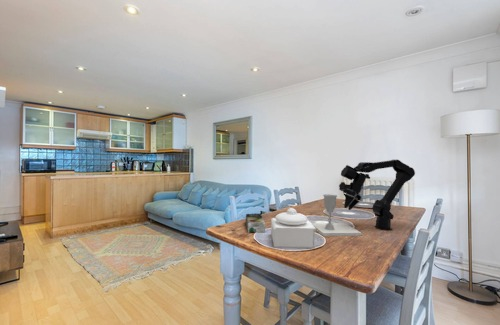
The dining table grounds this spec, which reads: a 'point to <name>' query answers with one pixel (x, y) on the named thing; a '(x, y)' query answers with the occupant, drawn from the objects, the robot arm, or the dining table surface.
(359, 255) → the dining table surface
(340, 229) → the platter
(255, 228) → the juice carton
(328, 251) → the dining table surface
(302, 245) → the butter dish
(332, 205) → the chalice
